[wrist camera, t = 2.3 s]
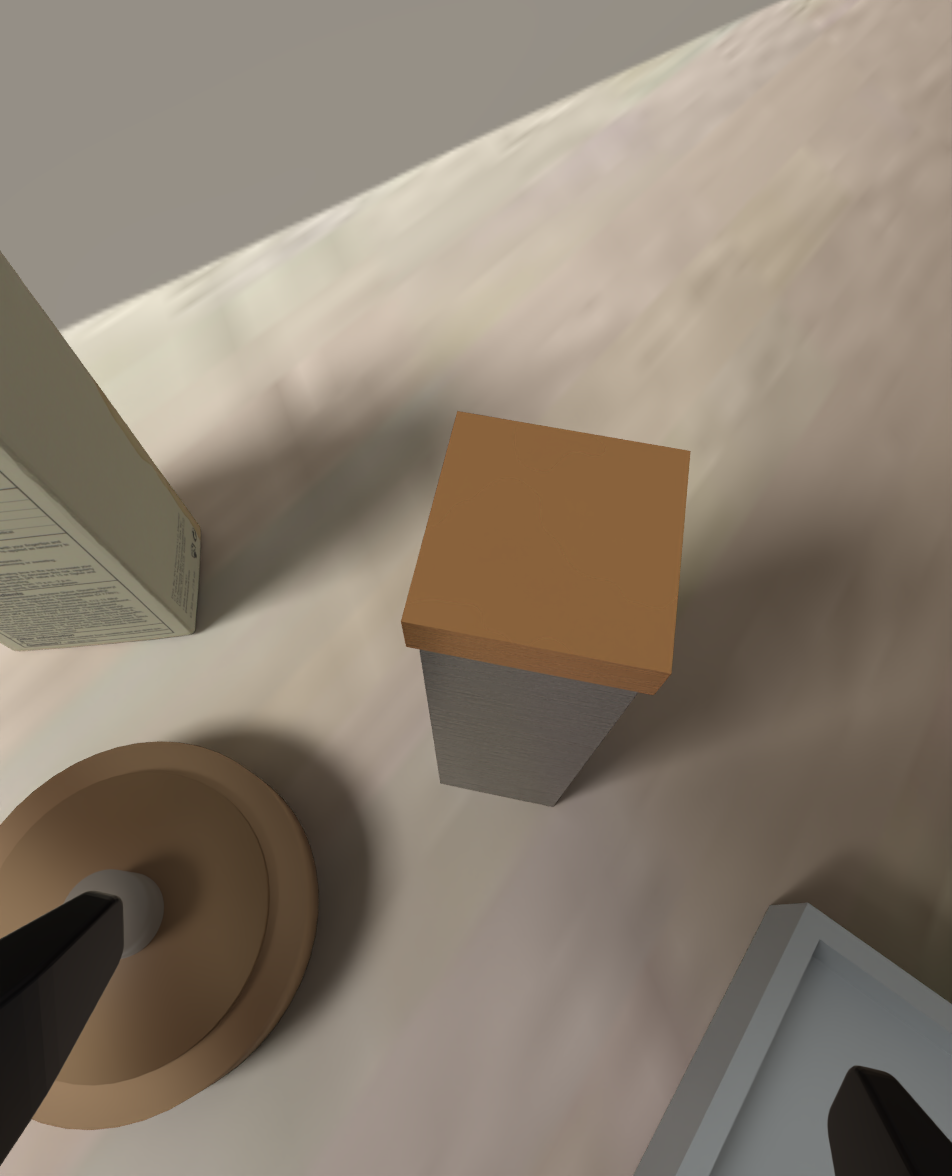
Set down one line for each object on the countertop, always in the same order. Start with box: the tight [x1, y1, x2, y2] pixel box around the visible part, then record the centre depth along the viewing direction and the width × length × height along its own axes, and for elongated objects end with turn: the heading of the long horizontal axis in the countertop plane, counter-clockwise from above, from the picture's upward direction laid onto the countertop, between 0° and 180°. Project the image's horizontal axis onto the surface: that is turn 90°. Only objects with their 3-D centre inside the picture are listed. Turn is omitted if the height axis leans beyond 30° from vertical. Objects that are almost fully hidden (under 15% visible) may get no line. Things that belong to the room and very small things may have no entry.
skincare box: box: [0, 251, 201, 651], centre depth 19 cm, size 6×4×12 cm
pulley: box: [0, 742, 319, 1130], centre depth 19 cm, size 9×9×4 cm
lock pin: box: [401, 411, 690, 807], centre depth 17 cm, size 4×4×13 cm
